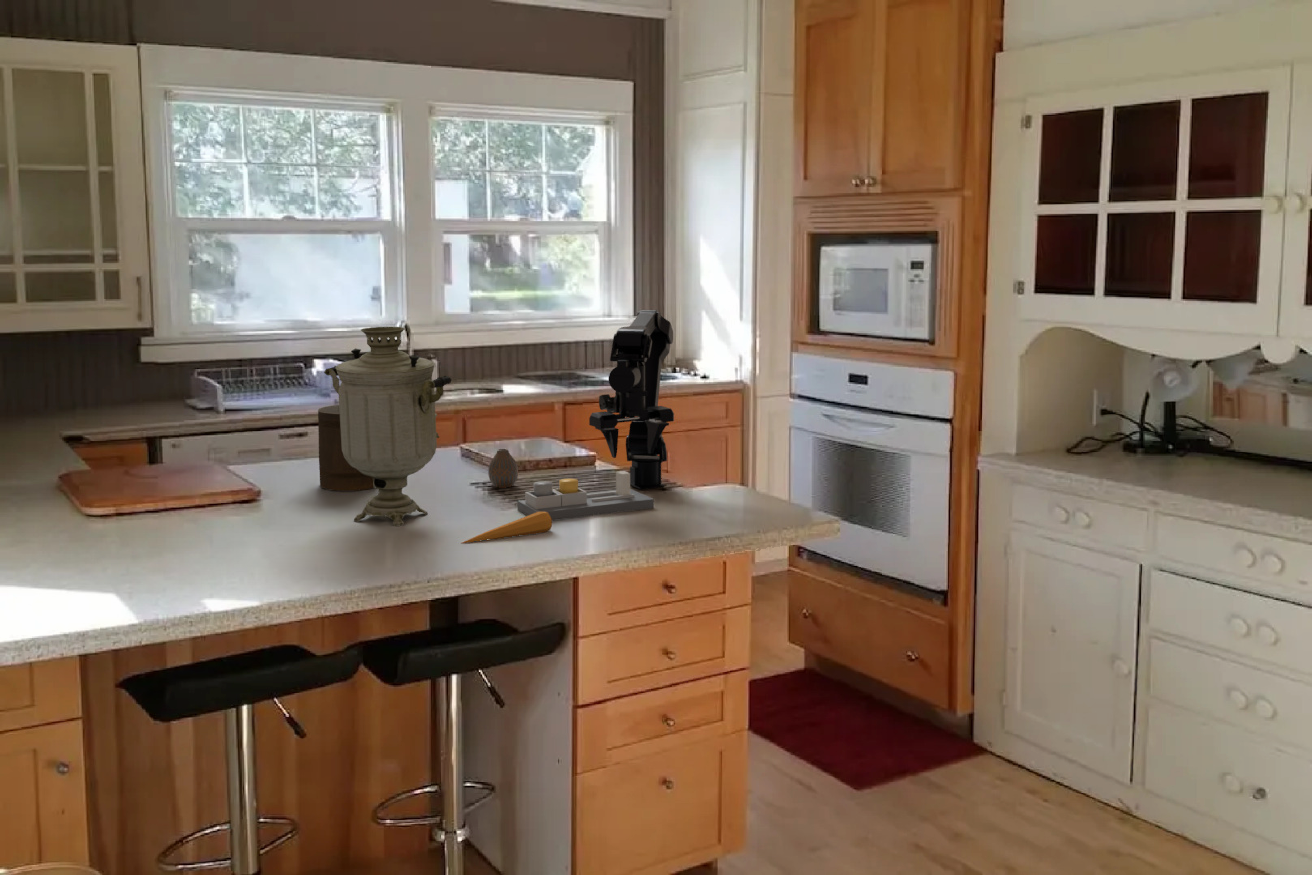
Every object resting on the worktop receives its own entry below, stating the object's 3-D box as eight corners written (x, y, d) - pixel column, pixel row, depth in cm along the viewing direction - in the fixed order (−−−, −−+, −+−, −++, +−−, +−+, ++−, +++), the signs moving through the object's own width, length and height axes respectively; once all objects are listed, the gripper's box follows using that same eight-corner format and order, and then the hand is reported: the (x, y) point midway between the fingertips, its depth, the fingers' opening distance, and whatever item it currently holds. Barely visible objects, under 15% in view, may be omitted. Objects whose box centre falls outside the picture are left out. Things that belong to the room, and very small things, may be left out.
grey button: (548, 494, 270) (547, 480, 269) (555, 497, 266) (555, 484, 266) (530, 496, 268) (530, 482, 267) (537, 499, 264) (537, 486, 264)
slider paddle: (624, 492, 278) (624, 470, 277) (630, 495, 275) (630, 473, 274) (616, 493, 277) (615, 471, 276) (621, 496, 274) (621, 474, 273)
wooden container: (397, 482, 298) (394, 391, 294) (351, 494, 285) (347, 399, 281) (353, 475, 305) (349, 386, 301) (306, 486, 293) (301, 393, 289)
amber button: (573, 491, 272) (573, 477, 272) (581, 495, 269) (581, 481, 268) (556, 493, 271) (556, 479, 270) (564, 497, 267) (563, 483, 267)
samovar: (496, 516, 265) (492, 328, 258) (393, 540, 247) (385, 337, 239) (412, 494, 285) (406, 318, 278) (310, 514, 267) (301, 326, 259)
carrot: (548, 532, 256) (542, 511, 256) (557, 528, 252) (551, 507, 253) (459, 556, 246) (453, 534, 246) (466, 552, 242) (460, 530, 242)
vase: (521, 483, 297) (520, 447, 295) (514, 490, 290) (514, 452, 289) (492, 482, 298) (491, 446, 296) (485, 489, 291) (484, 452, 289)
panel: (629, 496, 284) (629, 477, 283) (653, 508, 273) (653, 487, 272) (517, 509, 271) (517, 489, 271) (538, 521, 261) (538, 500, 260)
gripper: (649, 378, 286) (649, 445, 289) (577, 384, 277) (577, 453, 280) (675, 384, 277) (675, 453, 280) (601, 391, 267) (602, 462, 270)
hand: (632, 455), depth 278 cm, fingers open, 9 cm apart
